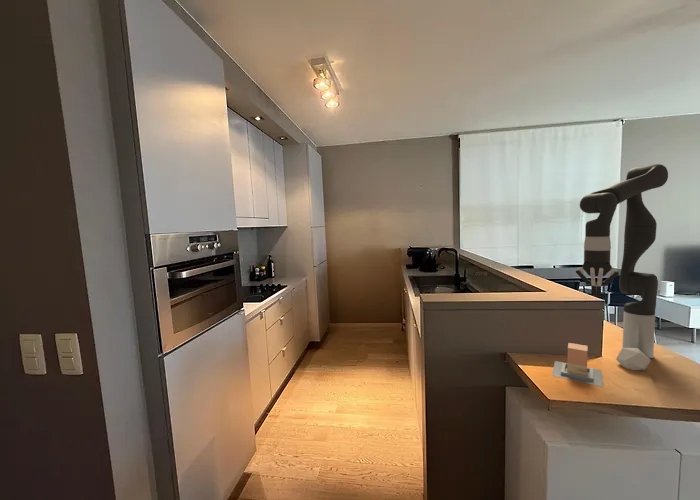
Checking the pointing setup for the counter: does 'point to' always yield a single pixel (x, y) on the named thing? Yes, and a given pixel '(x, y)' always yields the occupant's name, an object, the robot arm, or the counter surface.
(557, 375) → the base plate
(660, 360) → the counter surface
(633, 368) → the grey faceted rock
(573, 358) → the top block
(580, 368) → the base block
